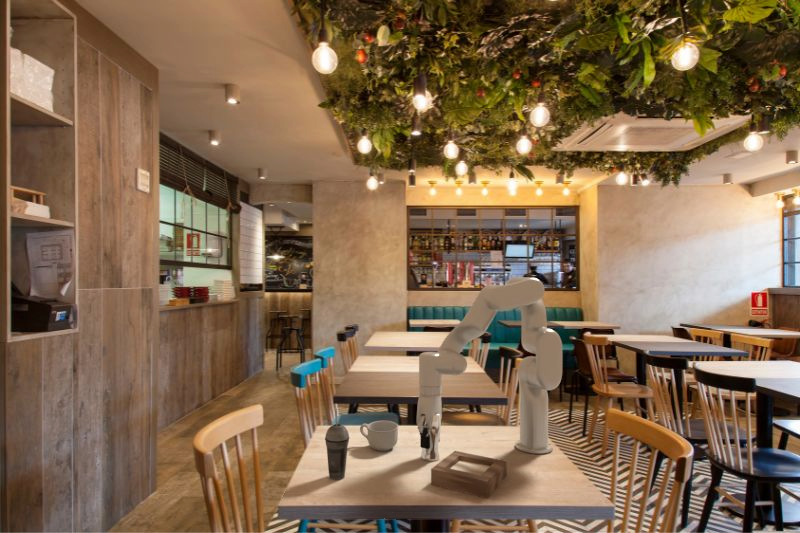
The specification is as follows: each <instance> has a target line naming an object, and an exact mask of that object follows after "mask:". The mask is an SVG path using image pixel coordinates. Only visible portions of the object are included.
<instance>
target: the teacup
mask: <svg viewBox="0 0 800 533" xmlns="http://www.w3.org/2000/svg"><path fill="white" fill-rule="evenodd" d="M364 427H365V428H366V430H367V433H366V432H365V430H364ZM398 430H399V424H398V423H396V422H395V421H391V420H376V421H372V422H370V423H362V424H360V427H359V432H360V434H361V435H362V436H363V437H364V438H365V439H366V440H367V441H368V445H369V446H370V447H372V449H374V450H375V451H378V452H386V451H390V450H392V449H393V448H394V447H395V446H396V445H397V443H398V439H399V438H398V437H399V431H398Z"/></svg>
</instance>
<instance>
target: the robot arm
mask: <svg viewBox="0 0 800 533" xmlns="http://www.w3.org/2000/svg"><path fill="white" fill-rule="evenodd" d="M544 294H545V286H544V284H543V282H542V281H541V280H540V279H538V278H536V277H528V276H527V277H526V276H525V277H524V276H516V277H511V278H510V279H509V280H508V281H507V282H506V284H502V285H500V284H499V285H498V284H489V285H485V286H484V287H483V288H482V289H481V290H480V291H479V293H478V294H477V297H476V298H475V299H474V301H473V303H472V304H471V306H470V308H469V309H468V311H467V312H466V314H465V316H464V317H463V319H462V320H461V321H460V322H459V323H458V324H457V325H456V326H455V327H454V328H453V329H452V330H451V331H450V332H449V333H448V334H447V335H446V337H444V340H443V341H442V343H441V345H440V346H439V348H438V350H437V352H436V351H435V352H434V351H424V352H422V353H420V354H419V356H418V357H419V358H418V401H417V408H416V409H417V410H416V425H417V430H418V432H419V436H420V439H419V440H420V445H419V446H420V448H421V449H422V448H426V449H429V448H430V436H429V432H430V427H432V423H433V417H434V415H436V414H439V412H440V419H441V420H442V418H443V410H442V408H443V407H442V403H443V402H442V395H443V392H442V391H443V389H442V388H443V385H442V383H443V382H442V381H443V378H442V377H443V375H445V376H460V375H462V374H464V372H465V371H466V370H467V368H468V362H467V359H466V357H465V356H464V355H463V354H461V352H462V350H463V349H464V348H465V346H467V344H469V343H470V342H471V341H473V340H474V339H477V338H479V337H481V336H482V335H484V334H485V333H486V332H487V330H488V328H489V326H490V325H491V323H492V321H493V320H494V318H495V316H496V315H497V313H498V312H508V311H511V310H515V309H519V310H520V314H521V336H520V337H521V346H522V348H523V349H524V351H527V352H529V353H531V354H535V356H533V355H530V356H526V357H524V358H522V359H521V360H520V361H519V363H518V365H517V380H518V384H519V385H518V386H519V439H517V441H515V445H514V446H515V448H516V449H517V450H519V451H521V452H524V453H529V454H535V455H537V454H539V455H541V454H548V453H551V452H552V451H553V448H554V446H553V444H552V443H551V442H549V396H548V394H549V393H548V391H553V390H555V389H557V388H558V386H559V385H560V383H561V380H562V376H563V342H562V339H561V337H560V335H559V333H558V332H557V331H556V330H553V329H552V328H548V325H547V323H548V322H547V320H548V319H547V310H546V305H545V303H544V301H543V299H542V298H543V297H544ZM425 421H426V424H427V426H424V423H425ZM424 428H427V431H426V430H425V429H424ZM440 437H441V436H440ZM440 437H439V442H440V440H441V438H440Z"/></svg>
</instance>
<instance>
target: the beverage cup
mask: <svg viewBox="0 0 800 533" xmlns="http://www.w3.org/2000/svg"><path fill="white" fill-rule="evenodd" d="M334 412H335V413H334V414H335V415H334V416H335V417H334V418H335V423H334V424H332V425H331V426H330V427H329V428H328V429H327V431H326V432H325V438H324V440H325V446H326V453H327V454H326V455H327V457H326V458H327V467H328V470H327V471H328V476H329V477H328V478H329V480H331V481H341V480H343V479H345V476H346V468H347V466H346V465H347V456H348V446H349V443H350V442H349V441H350V435H349V431H348V428H346V426H344V425H342V424H341V423H338V408H334Z"/></svg>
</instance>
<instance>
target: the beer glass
mask: <svg viewBox="0 0 800 533" xmlns="http://www.w3.org/2000/svg"><path fill="white" fill-rule="evenodd" d="M441 422H442V418H441V419H440V412H439V414H436V415H434V417H433V423H432V427H430V432H429V436H430V448H429V449H426V448H421V454H420V459H421V460H422V461H426V462H435V461H439V459H440V453H439V443H440V441H439V437H441V431H442V430H441V429H442V428H441V427H442V425H441V424H442V423H441ZM424 426H427V424H426V421H425V423H424ZM424 429H425V430H426V431H427V428H424Z"/></svg>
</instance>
